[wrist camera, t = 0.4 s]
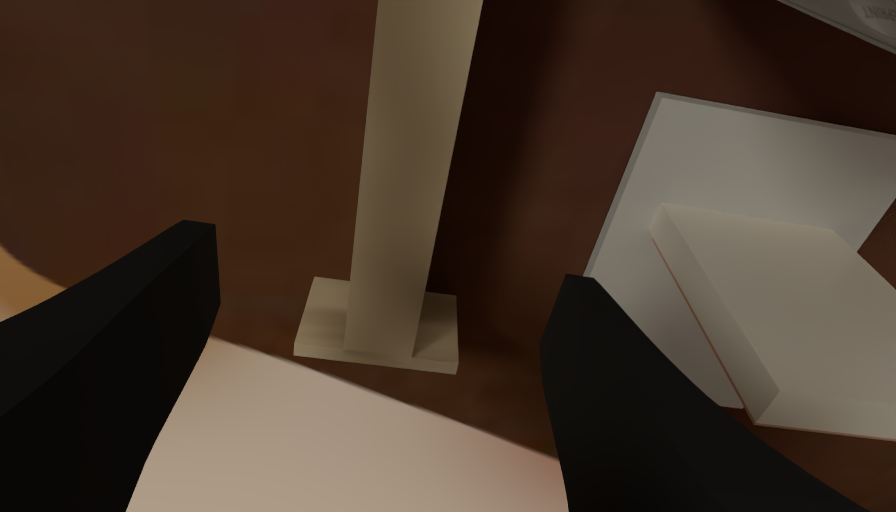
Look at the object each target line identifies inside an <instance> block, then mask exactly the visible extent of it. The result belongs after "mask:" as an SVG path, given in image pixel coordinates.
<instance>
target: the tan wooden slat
mask: <svg viewBox="0 0 896 512" xmlns="http://www.w3.org/2000/svg"><path fill="white" fill-rule="evenodd" d="M482 3H483V0H378V10H377V19H376V29H375V39H374V49H373V59H372V69H371V79H370V89H369V99H368V109H367V119H366V129H365V139H364V149H363V158H362V168H361V178H360V188H359V198H358V208H357V218H356V228H355V238H354V248H353V258H352V268H351V278H350V281H343V280H335V279H328V278H320V277H314V280H313V283H312V287H311V290H310V293H309V297H308V300H307V303H306V306H305V310H304V313H303V316H302V320H301V323H300V326H299V330H298V333H297V336H296V339H295V343H294V355H296V356H304V357H313V358H321V359H330V360H338V361H347V362H355V363H364V364H372V365H380V366H389V367H397V368H406V369H414V370H423V371H431V372H440V373H448V374H456V371H457V367H458V363H459V362H458V332H457V303H456V296H455V295H448V294H440V293H433V292H425V289H426V284H427V278H428V273H429V268H430V263H431V258H432V253H433V248H434V243H435V238H436V233H437V228H438V223H439V218H440V213H441V208H442V203H443V198H444V193H445V188H446V183H447V178H448V173H449V168H450V163H451V158H452V153H453V148H454V143H455V138H456V133H457V128H458V123H459V118H460V113H461V108H462V103H463V98H464V93H465V88H466V83H467V78H468V73H469V68H470V63H471V58H472V53H473V48H474V43H475V38H476V33H477V28H478V23H479V18H480V13H481V8H482Z"/></svg>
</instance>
